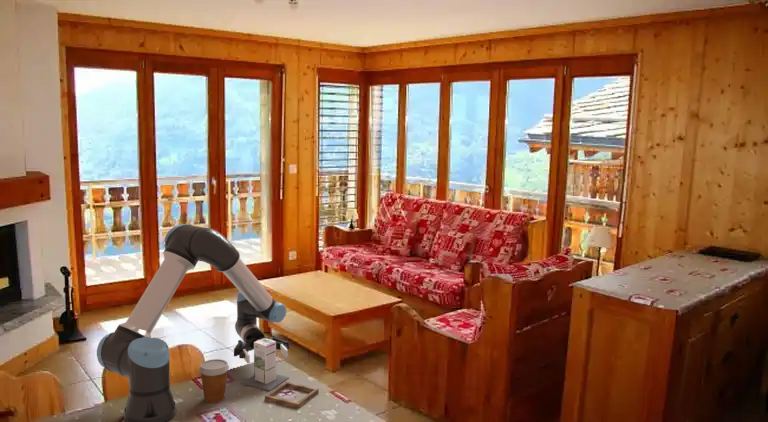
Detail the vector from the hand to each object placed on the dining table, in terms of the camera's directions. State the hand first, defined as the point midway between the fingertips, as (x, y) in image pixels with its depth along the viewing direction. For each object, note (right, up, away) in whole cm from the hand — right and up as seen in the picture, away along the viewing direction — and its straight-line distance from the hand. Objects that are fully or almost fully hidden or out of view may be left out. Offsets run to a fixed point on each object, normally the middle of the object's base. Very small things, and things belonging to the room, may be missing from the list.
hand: (267, 356), depth 207 cm
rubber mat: (-2, -10, +4) cm, 11 cm away
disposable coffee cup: (-16, -12, -10) cm, 22 cm away
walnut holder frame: (+10, -12, -7) cm, 17 cm away
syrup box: (-2, -10, +4) cm, 11 cm away
